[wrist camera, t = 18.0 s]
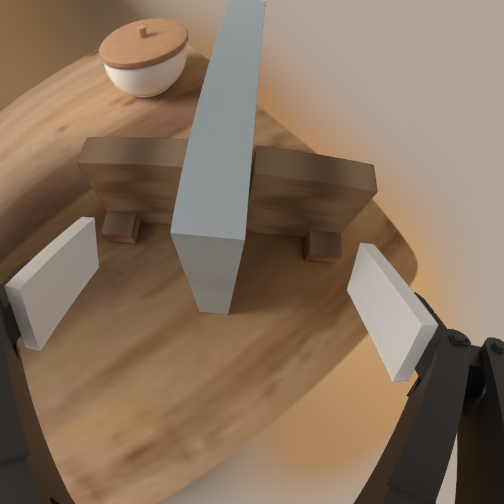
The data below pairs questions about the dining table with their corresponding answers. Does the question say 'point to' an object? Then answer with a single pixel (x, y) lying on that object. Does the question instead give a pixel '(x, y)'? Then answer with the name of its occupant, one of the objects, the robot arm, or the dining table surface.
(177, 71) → the lidded jar
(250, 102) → the slotted plate
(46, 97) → the dining table surface
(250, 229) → the walnut board
